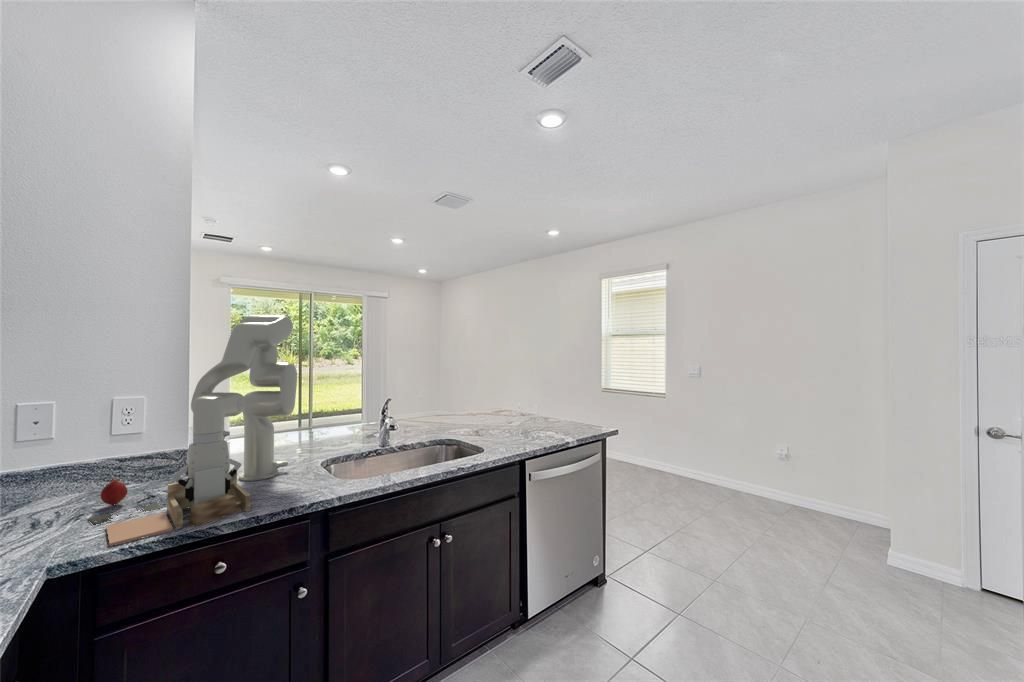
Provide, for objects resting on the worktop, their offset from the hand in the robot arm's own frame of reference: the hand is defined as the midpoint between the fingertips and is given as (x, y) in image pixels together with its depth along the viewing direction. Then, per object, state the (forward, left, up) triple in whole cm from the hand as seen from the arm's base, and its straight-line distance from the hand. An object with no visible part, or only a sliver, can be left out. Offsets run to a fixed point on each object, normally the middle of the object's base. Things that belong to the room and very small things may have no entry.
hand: (208, 496), depth 123 cm
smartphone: (+17, -13, -5) cm, 22 cm away
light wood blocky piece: (0, +1, -4) cm, 4 cm away
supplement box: (0, 0, -4) cm, 4 cm away
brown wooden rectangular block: (-1, +8, -4) cm, 9 cm away
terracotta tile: (+15, +3, -4) cm, 16 cm away
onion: (+19, -24, -4) cm, 31 cm away
